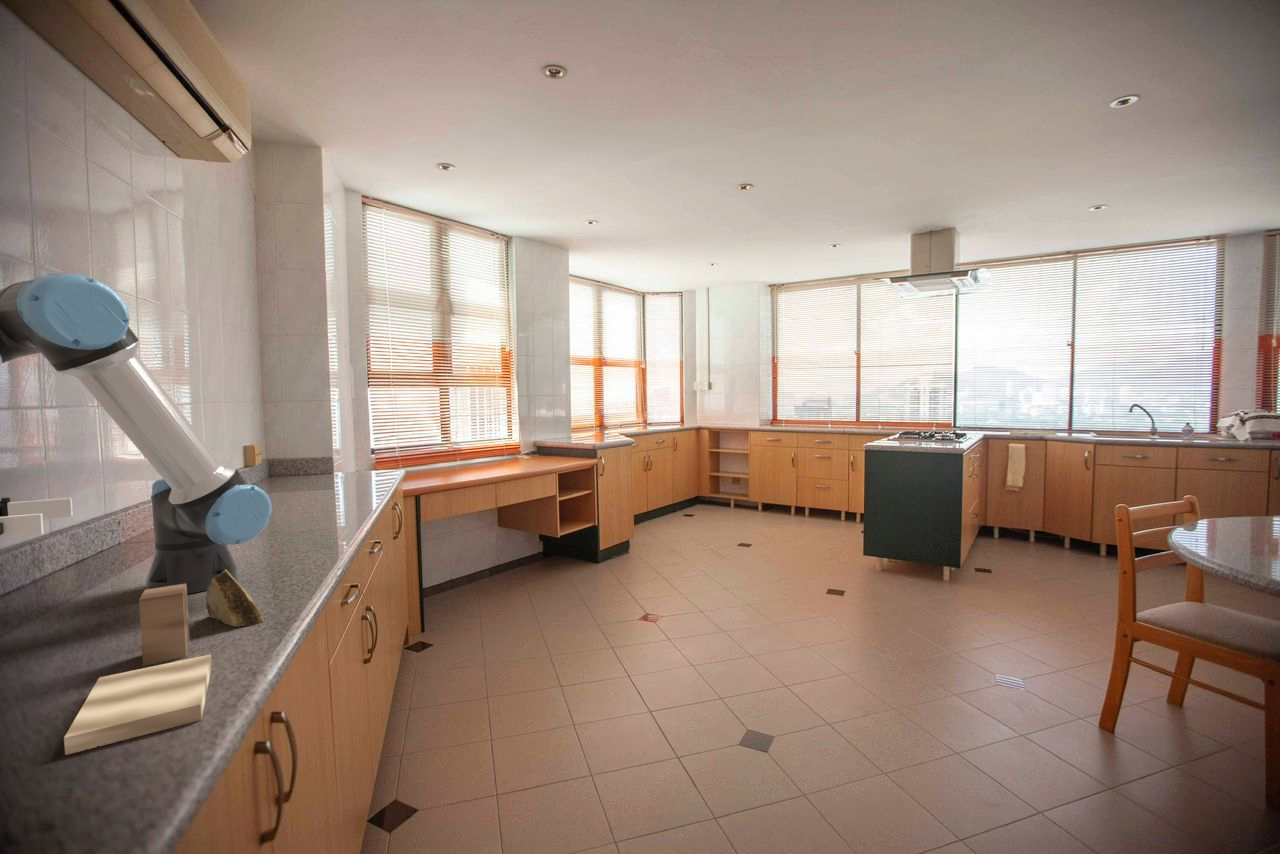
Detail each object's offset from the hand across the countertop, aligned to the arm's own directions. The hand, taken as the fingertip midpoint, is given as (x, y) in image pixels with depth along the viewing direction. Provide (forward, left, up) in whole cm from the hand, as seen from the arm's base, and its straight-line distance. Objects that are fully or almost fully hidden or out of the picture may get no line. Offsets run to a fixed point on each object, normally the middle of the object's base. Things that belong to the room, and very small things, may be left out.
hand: (58, 514), depth 80 cm
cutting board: (+17, +11, -23) cm, 31 cm away
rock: (-11, +19, -23) cm, 32 cm away
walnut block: (0, +11, -23) cm, 26 cm away
